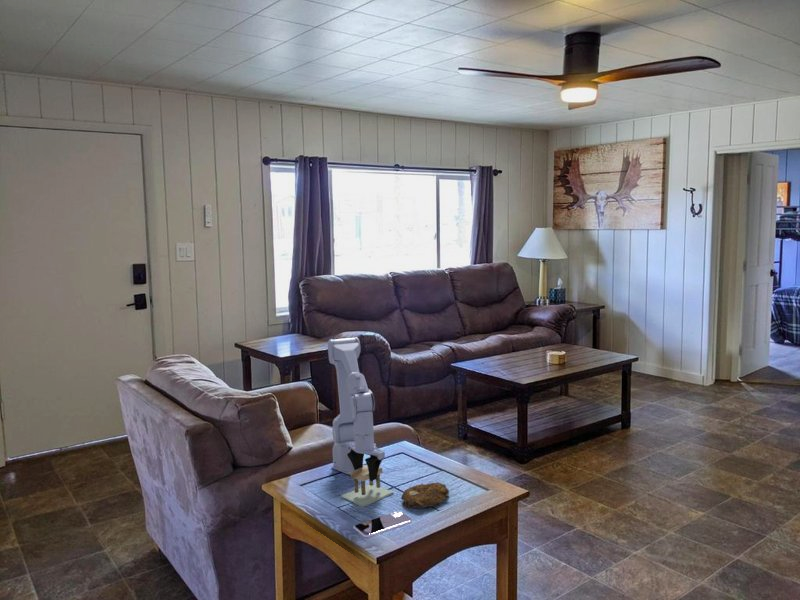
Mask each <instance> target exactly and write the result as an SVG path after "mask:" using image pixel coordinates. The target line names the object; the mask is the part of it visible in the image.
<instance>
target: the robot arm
mask: <svg viewBox="0 0 800 600" xmlns="http://www.w3.org/2000/svg"><path fill="white" fill-rule="evenodd" d="M361 349H362V348H361V341H360V338H358V337H357V336H354V337H345V338H344V337H343V338H337V339H336V338H334V339H332V338H331V339H329V340H328V342H327V356H328V361H329V364H332V365H333V366H335V370H336V380H337V381H336V382H337V393H338V402H339V414H337V416H336V417H334V419H333V420H332V439H333V442H334V443H333V445H332V464H333V465H332V466H331V469H333V470H336V471H338V472H340V473H343V474H346V475H350V472H352V471H354V470H357V469H359V468H361V467H364V466H366V465H367V466H368V470H369V478H370V481H373V482H374V481H376V479H377V474H378V469H379V467H381V463H382V462H383V460H384V459H385V458H386V456H385V455H386V454H385V452H386V451H384V450H381V449H379V448H378V447H377V444H376V443H375V433H374V432H375V431H374V416H373V415H374V414H373V413H374V411H375V408H376V402H375V397H374V396H375V395H374V393H373V391H372V390H371V389H370V388H368V384H367V380H366V378H365V375H364V374H363V373H361V372H360V369H359V363H358V362H359V361H358V359H359V357H360V354H361ZM365 455H367V456H369V457H366V458H364V456H365ZM364 461H365V463H366V465H364Z"/></svg>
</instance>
